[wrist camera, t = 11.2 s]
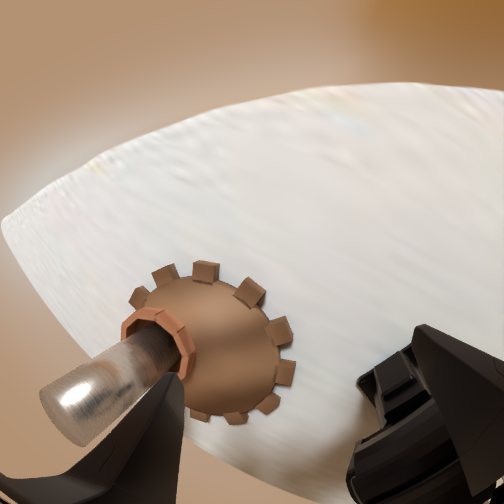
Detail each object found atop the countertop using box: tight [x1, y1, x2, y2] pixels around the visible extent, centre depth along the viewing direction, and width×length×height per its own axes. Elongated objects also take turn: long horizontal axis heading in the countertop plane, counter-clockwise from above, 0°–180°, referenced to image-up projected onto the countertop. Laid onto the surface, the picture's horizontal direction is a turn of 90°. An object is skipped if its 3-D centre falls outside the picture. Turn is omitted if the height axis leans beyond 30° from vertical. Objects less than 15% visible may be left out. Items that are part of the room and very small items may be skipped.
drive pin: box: [39, 323, 181, 447], centre depth 17 cm, size 4×4×13 cm
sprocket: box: [121, 260, 296, 425], centre depth 22 cm, size 16×16×3 cm
